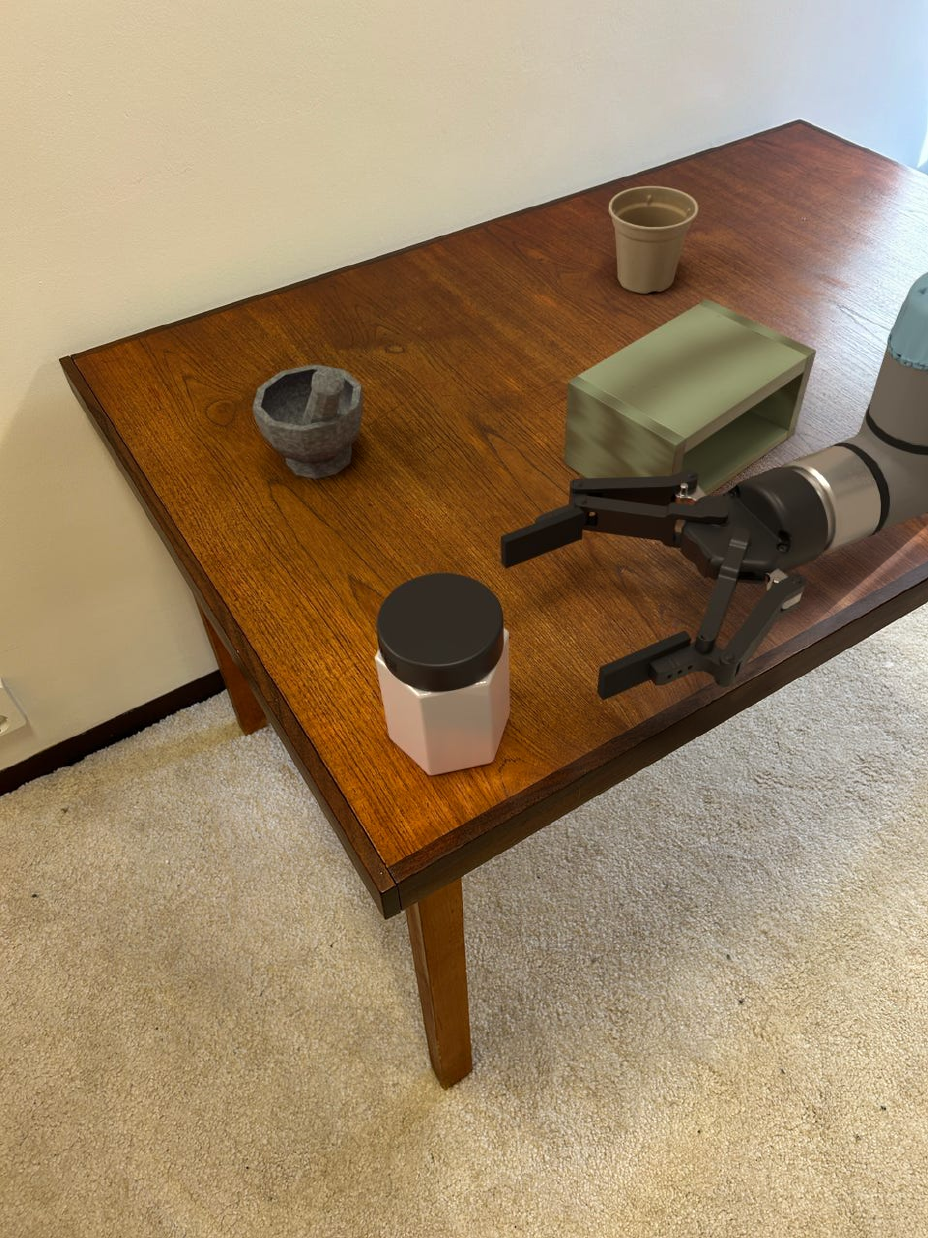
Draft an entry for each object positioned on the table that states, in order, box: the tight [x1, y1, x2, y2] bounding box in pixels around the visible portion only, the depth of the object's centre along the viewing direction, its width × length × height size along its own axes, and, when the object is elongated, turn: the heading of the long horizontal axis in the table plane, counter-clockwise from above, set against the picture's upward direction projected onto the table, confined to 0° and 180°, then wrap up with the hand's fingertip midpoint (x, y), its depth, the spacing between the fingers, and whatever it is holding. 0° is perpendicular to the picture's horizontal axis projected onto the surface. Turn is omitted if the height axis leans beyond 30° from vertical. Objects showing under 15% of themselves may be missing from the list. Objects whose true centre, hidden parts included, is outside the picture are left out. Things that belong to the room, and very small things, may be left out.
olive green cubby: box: [563, 298, 817, 496], centre depth 86 cm, size 12×18×9 cm, turn 131°
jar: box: [374, 572, 511, 776], centre depth 66 cm, size 9×8×12 cm
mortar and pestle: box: [252, 364, 364, 480], centre depth 86 cm, size 11×9×12 cm
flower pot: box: [608, 185, 699, 295], centre depth 106 cm, size 9×9×9 cm
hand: (548, 614), depth 66 cm, fingers open, 13 cm apart
